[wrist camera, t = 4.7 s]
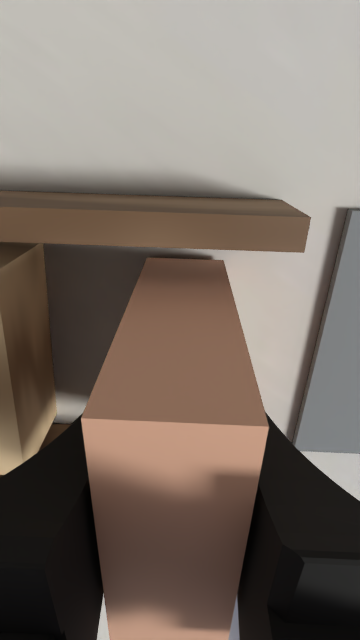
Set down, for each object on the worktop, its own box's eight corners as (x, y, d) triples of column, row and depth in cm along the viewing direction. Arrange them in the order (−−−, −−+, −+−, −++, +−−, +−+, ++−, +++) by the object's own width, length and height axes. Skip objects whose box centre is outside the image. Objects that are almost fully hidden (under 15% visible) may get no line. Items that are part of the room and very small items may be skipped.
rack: (243, 446, 18) (254, 507, 15) (-99, 430, 19) (-158, 488, 16) (281, 200, 13) (310, 217, 10) (-211, 183, 13) (-338, 195, 10)
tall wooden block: (209, 417, 17) (225, 656, 9) (149, 414, 17) (111, 650, 9) (223, 260, 14) (268, 426, 5) (147, 257, 14) (81, 418, 6)
